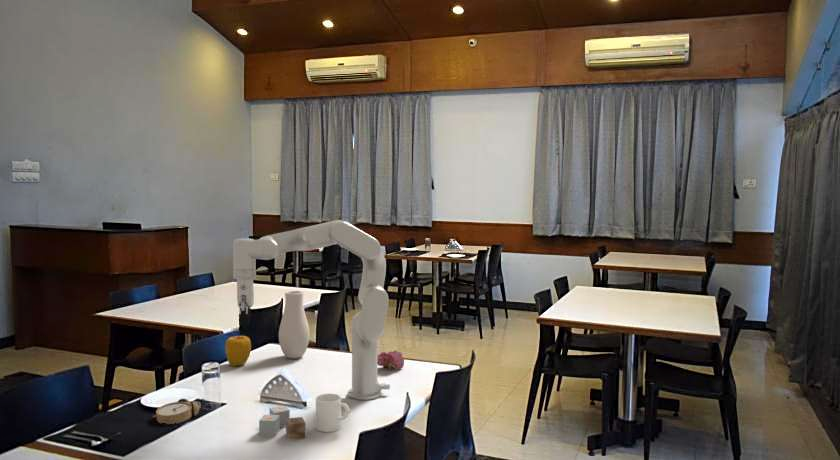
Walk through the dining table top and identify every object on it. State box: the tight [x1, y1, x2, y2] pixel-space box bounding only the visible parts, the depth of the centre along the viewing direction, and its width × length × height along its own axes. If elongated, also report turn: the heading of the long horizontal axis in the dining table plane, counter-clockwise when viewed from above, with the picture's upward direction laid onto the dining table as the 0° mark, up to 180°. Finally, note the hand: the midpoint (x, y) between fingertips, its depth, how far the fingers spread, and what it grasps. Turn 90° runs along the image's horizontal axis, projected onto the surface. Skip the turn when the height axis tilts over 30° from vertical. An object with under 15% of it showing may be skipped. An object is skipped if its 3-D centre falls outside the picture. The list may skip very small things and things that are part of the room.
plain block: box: [285, 416, 306, 441], centre depth 188 cm, size 5×5×5 cm
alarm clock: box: [152, 397, 202, 425], centre depth 203 cm, size 11×5×15 cm
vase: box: [278, 290, 310, 360], centre depth 275 cm, size 14×14×30 cm
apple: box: [224, 335, 252, 367], centre depth 263 cm, size 11×11×13 cm
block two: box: [269, 405, 291, 428], centre depth 198 cm, size 5×5×5 cm
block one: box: [258, 414, 281, 437], centre depth 190 cm, size 5×5×5 cm
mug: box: [315, 393, 351, 433], centre depth 195 cm, size 8×12×10 cm
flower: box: [377, 350, 405, 370], centre depth 260 cm, size 11×10×10 cm
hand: (244, 322), depth 212 cm, fingers open, 9 cm apart
